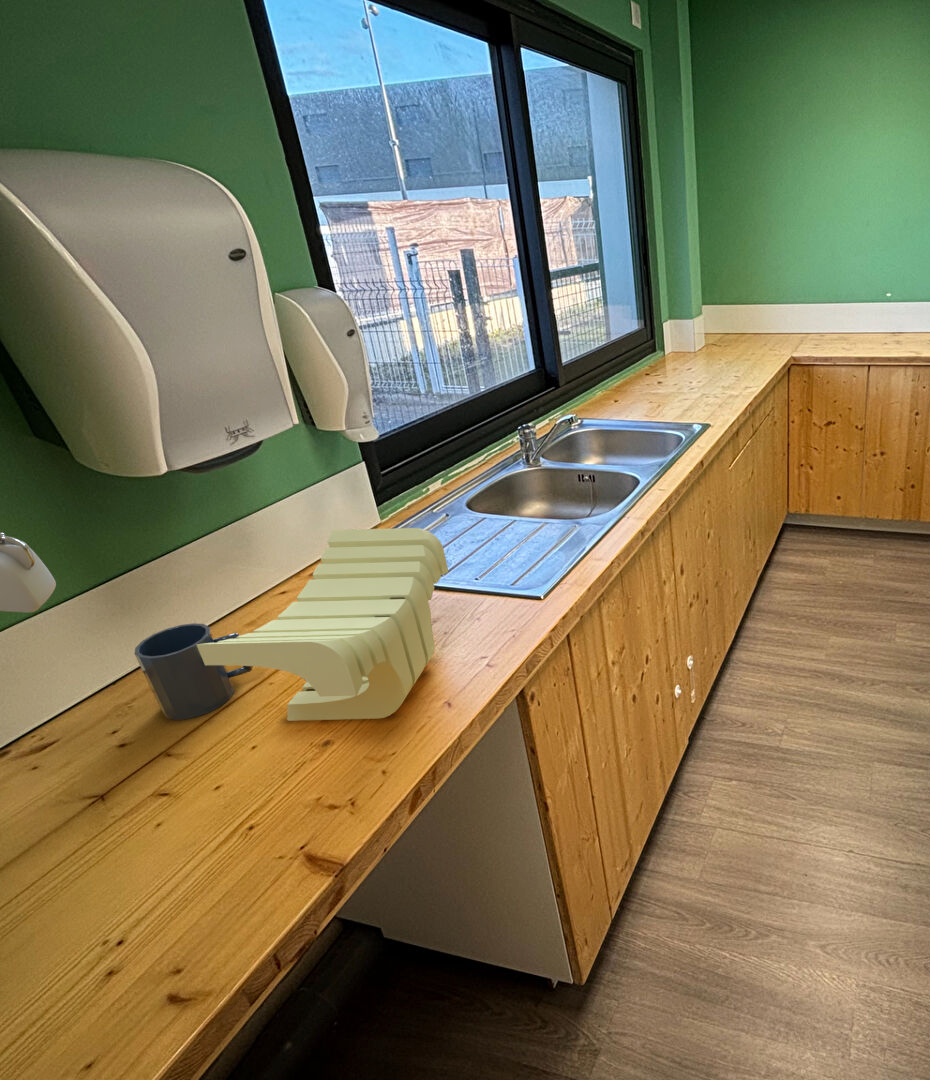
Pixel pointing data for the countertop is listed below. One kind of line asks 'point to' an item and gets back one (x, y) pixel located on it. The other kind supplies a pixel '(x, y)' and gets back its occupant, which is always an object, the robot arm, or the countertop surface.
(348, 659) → the slatted lounge chair
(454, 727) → the countertop surface
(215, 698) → the mug
